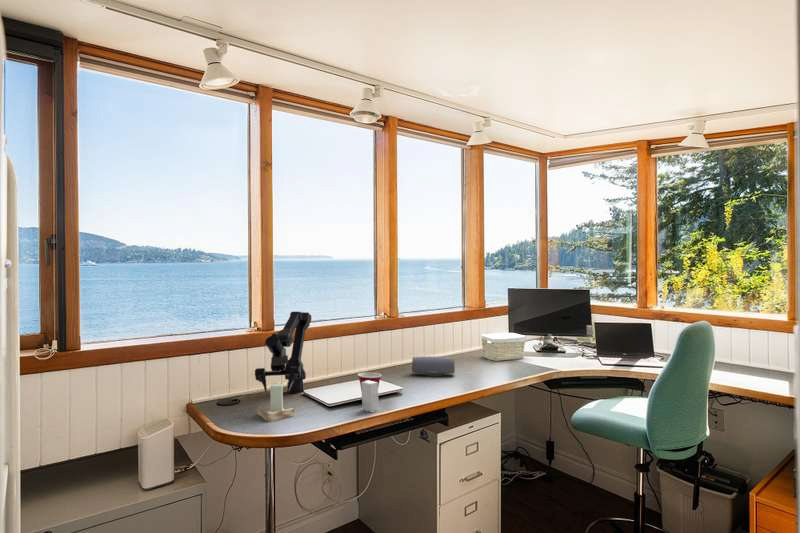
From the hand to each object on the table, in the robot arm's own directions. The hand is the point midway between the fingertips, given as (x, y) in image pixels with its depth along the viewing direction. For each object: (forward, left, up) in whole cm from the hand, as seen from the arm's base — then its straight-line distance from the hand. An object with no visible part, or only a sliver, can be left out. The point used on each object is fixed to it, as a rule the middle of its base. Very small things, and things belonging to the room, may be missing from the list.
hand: (277, 391), depth 201 cm
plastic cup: (-40, +10, -9) cm, 42 cm away
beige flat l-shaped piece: (+1, +2, -9) cm, 9 cm away
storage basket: (-156, -12, -9) cm, 156 cm away
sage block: (+1, +2, -9) cm, 9 cm away
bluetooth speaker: (-93, -7, -9) cm, 94 cm away
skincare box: (-32, +22, -9) cm, 39 cm away
